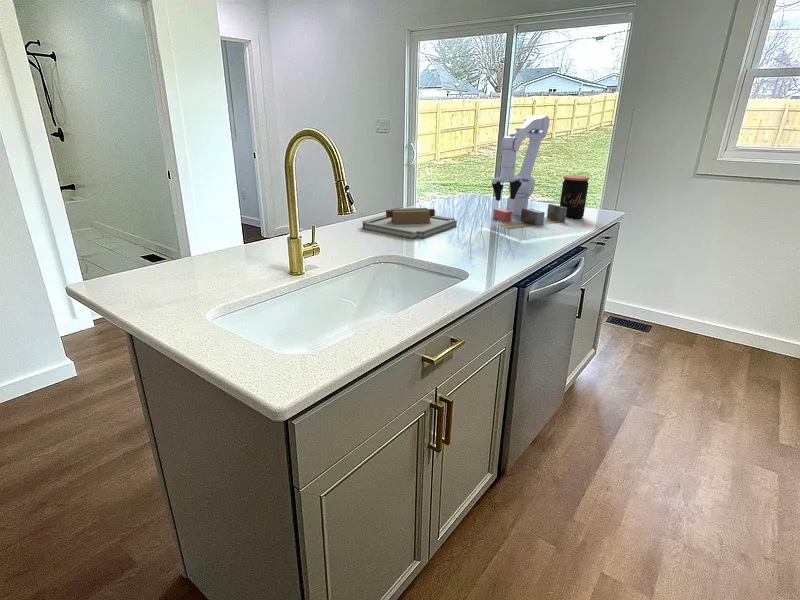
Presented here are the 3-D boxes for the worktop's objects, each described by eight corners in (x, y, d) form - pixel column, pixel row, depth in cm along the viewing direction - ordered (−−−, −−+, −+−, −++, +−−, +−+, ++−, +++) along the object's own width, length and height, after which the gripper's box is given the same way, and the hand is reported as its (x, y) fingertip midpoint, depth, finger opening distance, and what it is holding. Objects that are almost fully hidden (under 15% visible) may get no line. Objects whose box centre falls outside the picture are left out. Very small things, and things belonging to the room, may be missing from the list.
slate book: (523, 220, 199) (525, 209, 197) (530, 220, 200) (531, 208, 198) (536, 224, 192) (538, 212, 190) (543, 224, 194) (544, 212, 192)
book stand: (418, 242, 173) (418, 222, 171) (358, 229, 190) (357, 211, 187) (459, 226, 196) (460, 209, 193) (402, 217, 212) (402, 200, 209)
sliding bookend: (520, 220, 199) (521, 208, 197) (522, 220, 199) (523, 208, 197) (534, 225, 191) (536, 212, 189) (536, 224, 191) (538, 212, 189)
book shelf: (493, 226, 194) (494, 209, 191) (548, 219, 206) (550, 203, 203) (508, 231, 186) (509, 214, 183) (565, 224, 198) (567, 207, 195)
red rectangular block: (493, 220, 205) (493, 208, 203) (499, 219, 207) (500, 208, 205) (504, 223, 199) (505, 212, 197) (510, 223, 200) (511, 211, 198)
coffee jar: (558, 219, 207) (563, 177, 200) (558, 214, 216) (563, 174, 209) (583, 220, 204) (590, 178, 197) (582, 215, 213) (588, 175, 206)
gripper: (500, 168, 187) (497, 202, 192) (528, 167, 193) (524, 199, 198) (489, 166, 193) (487, 199, 198) (517, 165, 199) (514, 197, 204)
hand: (505, 199), depth 199 cm, fingers open, 7 cm apart
